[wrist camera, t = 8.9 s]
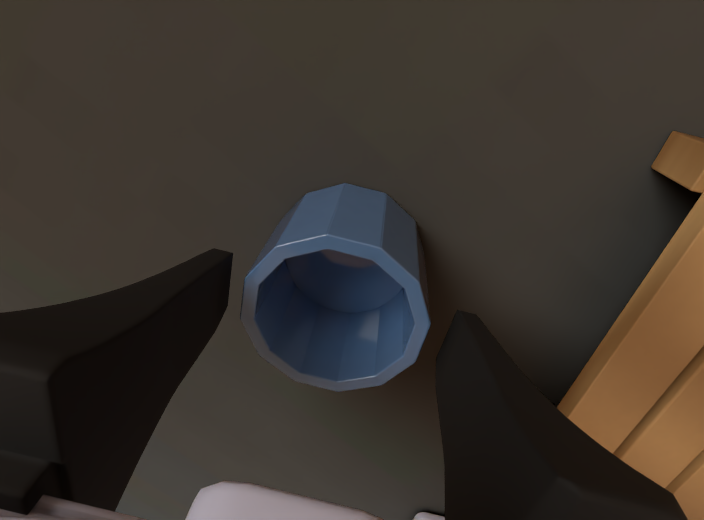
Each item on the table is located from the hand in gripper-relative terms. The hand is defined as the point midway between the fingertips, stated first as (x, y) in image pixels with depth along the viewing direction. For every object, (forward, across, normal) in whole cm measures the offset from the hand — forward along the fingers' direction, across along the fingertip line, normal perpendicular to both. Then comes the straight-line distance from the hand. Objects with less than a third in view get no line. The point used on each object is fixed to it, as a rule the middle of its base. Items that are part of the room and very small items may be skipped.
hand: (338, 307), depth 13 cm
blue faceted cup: (+3, 0, 0) cm, 3 cm away
